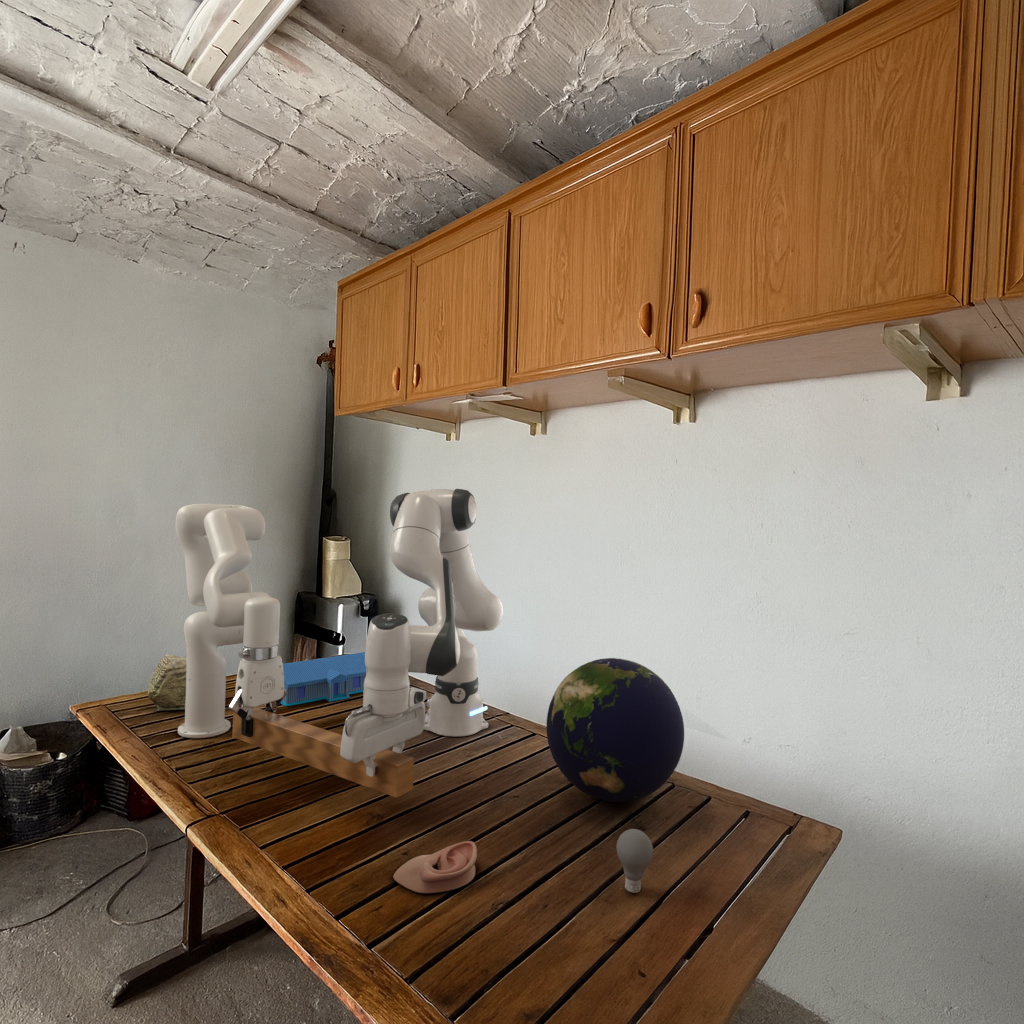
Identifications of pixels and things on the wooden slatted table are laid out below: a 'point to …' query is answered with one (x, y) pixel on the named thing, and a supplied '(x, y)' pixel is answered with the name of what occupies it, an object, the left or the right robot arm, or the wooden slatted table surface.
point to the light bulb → (634, 857)
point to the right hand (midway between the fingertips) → (383, 769)
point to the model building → (324, 679)
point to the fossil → (169, 683)
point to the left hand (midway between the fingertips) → (257, 731)
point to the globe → (615, 730)
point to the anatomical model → (439, 869)
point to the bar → (325, 752)
